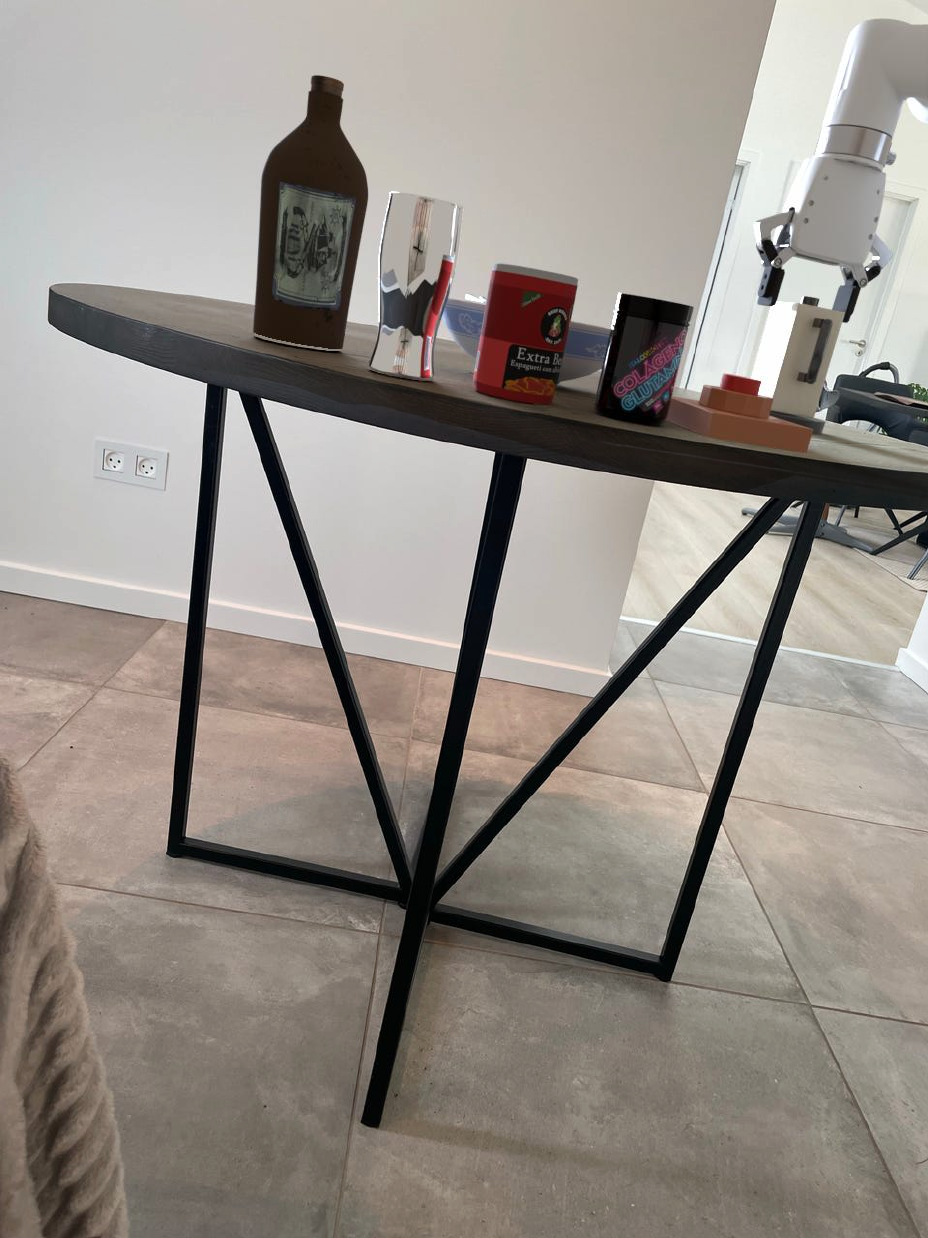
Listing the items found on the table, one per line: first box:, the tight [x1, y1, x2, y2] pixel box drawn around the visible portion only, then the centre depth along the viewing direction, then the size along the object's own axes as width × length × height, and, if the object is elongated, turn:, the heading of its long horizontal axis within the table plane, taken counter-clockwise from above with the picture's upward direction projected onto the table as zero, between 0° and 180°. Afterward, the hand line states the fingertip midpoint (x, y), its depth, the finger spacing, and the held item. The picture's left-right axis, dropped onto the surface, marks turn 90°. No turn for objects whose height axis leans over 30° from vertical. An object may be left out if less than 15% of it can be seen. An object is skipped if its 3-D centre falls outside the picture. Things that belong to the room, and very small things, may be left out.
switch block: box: [666, 384, 813, 454], centre depth 88 cm, size 10×12×4 cm
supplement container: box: [593, 292, 695, 428], centre depth 82 cm, size 7×7×10 cm
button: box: [719, 372, 762, 396], centre depth 87 cm, size 4×4×2 cm
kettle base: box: [769, 411, 826, 436], centre depth 111 cm, size 11×11×2 cm
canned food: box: [472, 262, 579, 405], centre depth 83 cm, size 8×8×11 cm
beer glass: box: [368, 191, 465, 383], centre depth 83 cm, size 7×7×15 cm
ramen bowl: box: [442, 293, 611, 385], centre depth 105 cm, size 25×23×8 cm
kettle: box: [751, 295, 845, 418], centre depth 109 cm, size 11×6×13 cm, turn 11°
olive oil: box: [252, 74, 369, 350], centre depth 94 cm, size 11×11×25 cm
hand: (802, 313), depth 108 cm, fingers open, 9 cm apart
